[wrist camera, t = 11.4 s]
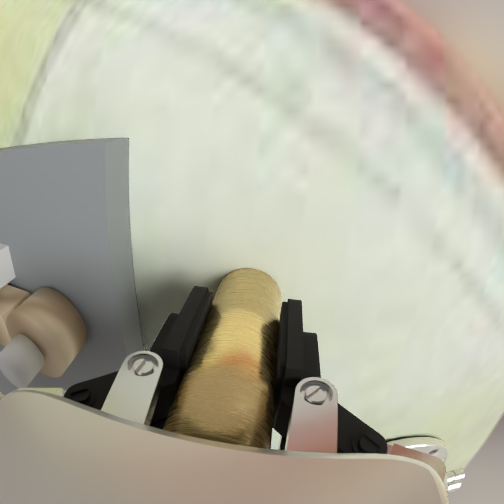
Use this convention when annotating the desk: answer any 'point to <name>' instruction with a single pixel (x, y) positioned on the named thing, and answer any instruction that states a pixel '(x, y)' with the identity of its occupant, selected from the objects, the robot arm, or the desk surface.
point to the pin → (233, 366)
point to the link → (43, 325)
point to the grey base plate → (69, 251)
